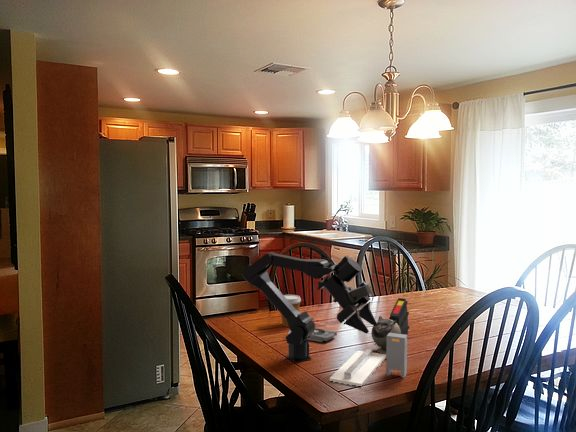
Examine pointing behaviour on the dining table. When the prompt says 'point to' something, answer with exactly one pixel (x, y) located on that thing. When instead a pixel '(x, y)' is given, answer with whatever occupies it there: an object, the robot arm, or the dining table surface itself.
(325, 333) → the graphics card
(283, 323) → the disposable coffee cup
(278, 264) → the robot arm
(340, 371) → the mounting board
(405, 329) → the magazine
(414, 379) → the dining table surface
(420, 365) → the dining table surface
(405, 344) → the module
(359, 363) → the metal rail
